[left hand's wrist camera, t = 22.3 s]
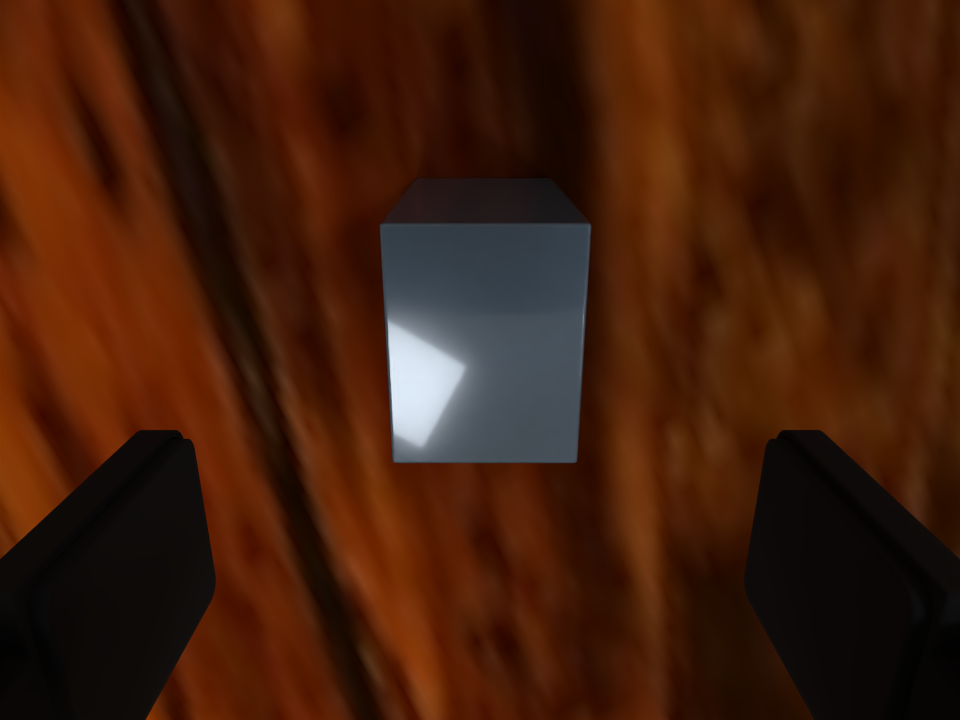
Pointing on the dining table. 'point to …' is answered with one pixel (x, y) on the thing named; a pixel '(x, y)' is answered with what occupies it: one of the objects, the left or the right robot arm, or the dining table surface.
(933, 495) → the dining table surface
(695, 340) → the dining table surface
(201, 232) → the dining table surface
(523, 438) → the brick
